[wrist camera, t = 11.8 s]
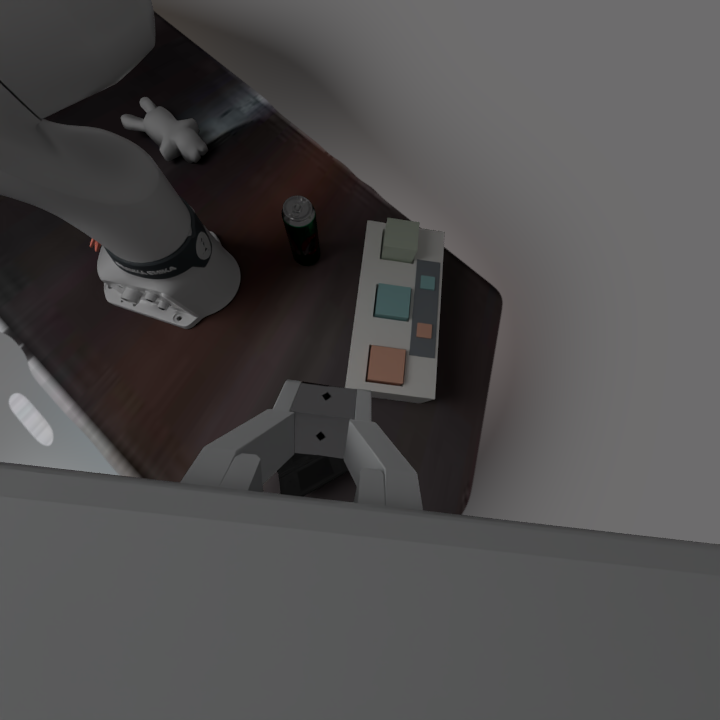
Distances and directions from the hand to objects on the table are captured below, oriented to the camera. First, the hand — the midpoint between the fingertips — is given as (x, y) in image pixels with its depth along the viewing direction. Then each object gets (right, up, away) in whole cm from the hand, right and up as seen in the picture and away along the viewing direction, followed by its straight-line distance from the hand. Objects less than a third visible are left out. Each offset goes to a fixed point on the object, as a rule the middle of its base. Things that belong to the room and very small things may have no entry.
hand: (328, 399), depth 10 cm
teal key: (+6, +10, +37) cm, 38 cm away
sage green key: (+7, +20, +37) cm, 42 cm away
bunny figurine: (-37, +45, +47) cm, 75 cm away
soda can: (-9, +21, +43) cm, 49 cm away
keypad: (+7, +8, +41) cm, 42 cm away
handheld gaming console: (-7, -14, +35) cm, 38 cm away
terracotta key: (+5, 0, +34) cm, 35 cm away
